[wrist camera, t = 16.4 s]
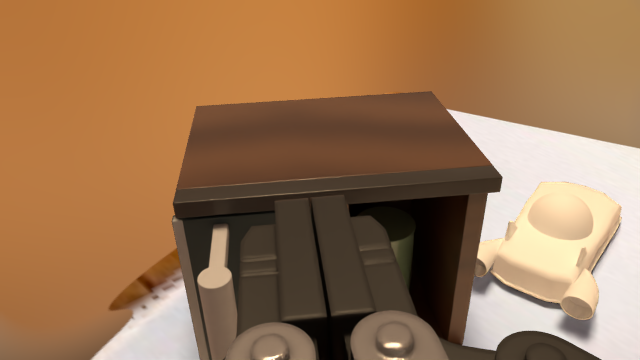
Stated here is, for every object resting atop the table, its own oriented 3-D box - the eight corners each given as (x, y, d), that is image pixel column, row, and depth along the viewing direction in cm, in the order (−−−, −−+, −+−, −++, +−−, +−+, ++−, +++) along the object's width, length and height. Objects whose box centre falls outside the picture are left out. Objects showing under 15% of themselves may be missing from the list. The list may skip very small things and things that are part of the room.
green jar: (402, 272, 44) (407, 203, 41) (416, 310, 40) (423, 238, 37) (348, 277, 44) (349, 208, 40) (358, 316, 40) (359, 244, 36)
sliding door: (356, 442, 31) (360, 272, 24) (196, 461, 30) (154, 291, 23) (341, 358, 36) (340, 201, 30) (205, 373, 35) (173, 214, 29)
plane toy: (639, 217, 52) (656, 167, 49) (584, 339, 39) (604, 281, 36) (535, 186, 58) (545, 139, 55) (456, 283, 45) (464, 228, 42)
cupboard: (467, 371, 37) (503, 176, 29) (211, 399, 35) (172, 203, 27) (416, 253, 48) (431, 91, 40) (221, 271, 47) (196, 106, 39)
